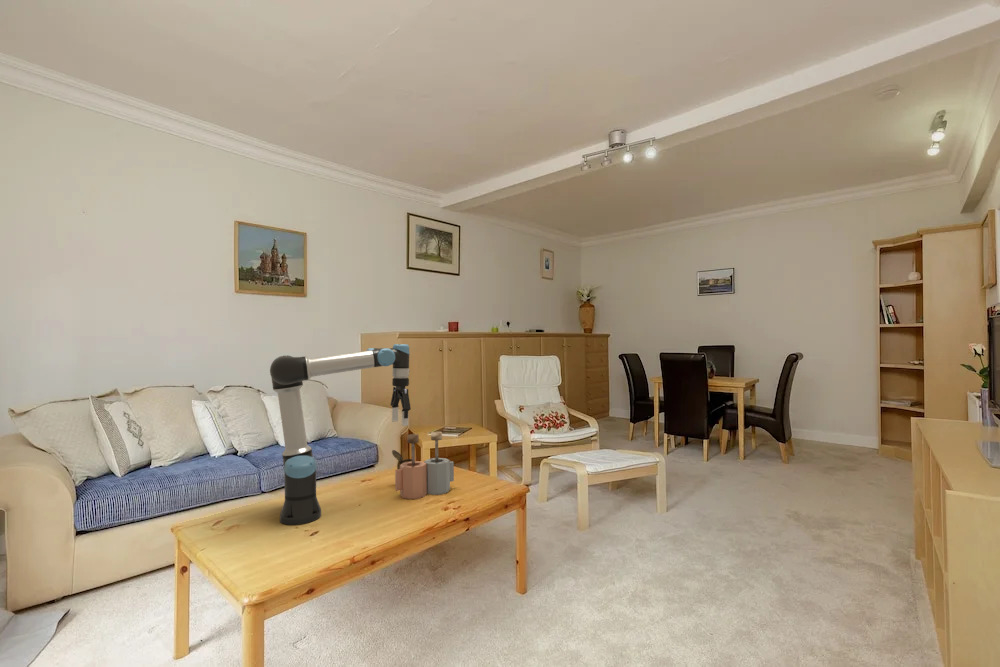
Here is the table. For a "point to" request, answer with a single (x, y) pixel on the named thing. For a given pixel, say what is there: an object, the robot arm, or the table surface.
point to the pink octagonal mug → (411, 480)
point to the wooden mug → (399, 458)
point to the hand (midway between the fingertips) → (399, 423)
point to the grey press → (439, 475)
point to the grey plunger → (436, 442)
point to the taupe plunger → (413, 444)
